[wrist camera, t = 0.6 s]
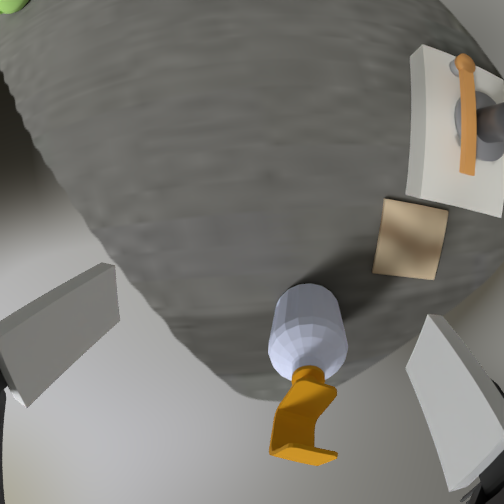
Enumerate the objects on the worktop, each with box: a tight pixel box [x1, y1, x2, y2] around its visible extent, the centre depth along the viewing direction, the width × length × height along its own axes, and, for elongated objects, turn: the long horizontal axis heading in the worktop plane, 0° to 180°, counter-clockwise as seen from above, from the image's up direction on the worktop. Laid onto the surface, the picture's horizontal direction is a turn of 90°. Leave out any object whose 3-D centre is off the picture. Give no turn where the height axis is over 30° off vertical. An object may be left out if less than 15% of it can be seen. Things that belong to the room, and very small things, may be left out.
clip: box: [454, 54, 477, 176], centre depth 22 cm, size 15×3×1 cm, turn 176°
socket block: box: [405, 44, 504, 218], centre depth 26 cm, size 20×14×6 cm
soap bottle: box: [268, 283, 348, 466], centre depth 28 cm, size 9×9×25 cm
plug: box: [454, 91, 504, 161], centre depth 20 cm, size 9×9×17 cm
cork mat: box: [372, 198, 449, 280], centre depth 34 cm, size 10×10×1 cm
